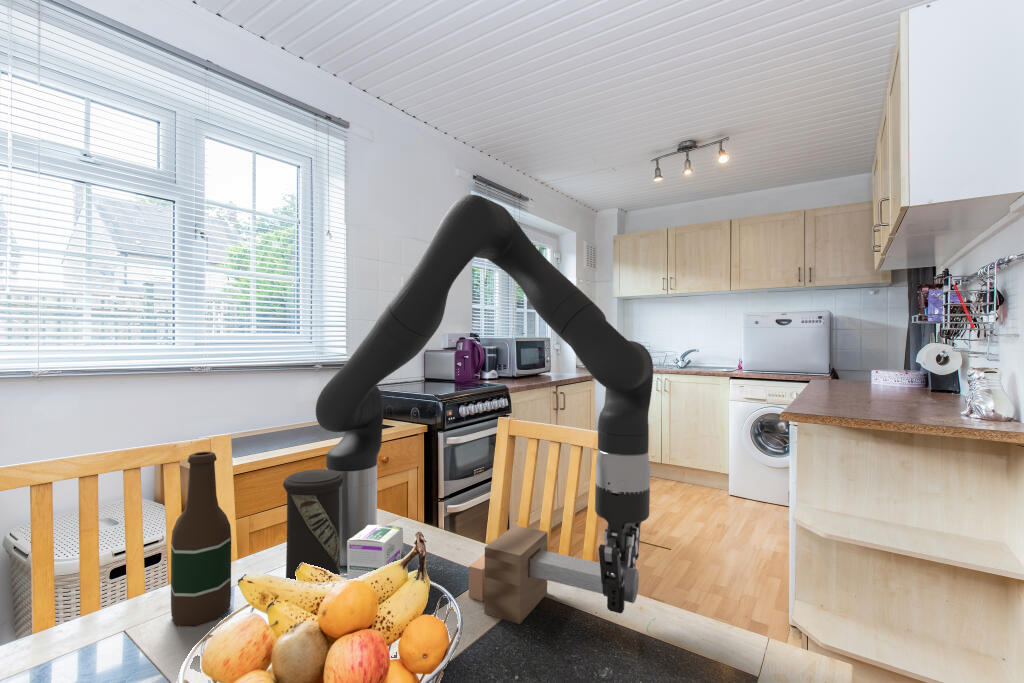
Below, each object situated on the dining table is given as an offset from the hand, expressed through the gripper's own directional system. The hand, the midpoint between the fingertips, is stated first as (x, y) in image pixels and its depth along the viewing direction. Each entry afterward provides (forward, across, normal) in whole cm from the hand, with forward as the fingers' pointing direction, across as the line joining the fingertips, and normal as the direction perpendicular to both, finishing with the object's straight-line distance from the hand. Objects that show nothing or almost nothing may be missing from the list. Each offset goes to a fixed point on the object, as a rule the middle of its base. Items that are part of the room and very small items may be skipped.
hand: (620, 601), depth 69 cm
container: (+5, +14, -46) cm, 48 cm away
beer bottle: (+5, +25, -57) cm, 62 cm away
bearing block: (+4, 0, -16) cm, 17 cm away
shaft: (0, 0, -8) cm, 8 cm away
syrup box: (+5, +17, -30) cm, 35 cm away
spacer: (+2, 0, -22) cm, 22 cm away
